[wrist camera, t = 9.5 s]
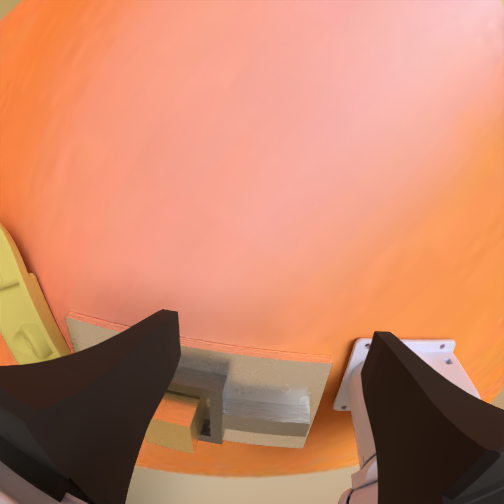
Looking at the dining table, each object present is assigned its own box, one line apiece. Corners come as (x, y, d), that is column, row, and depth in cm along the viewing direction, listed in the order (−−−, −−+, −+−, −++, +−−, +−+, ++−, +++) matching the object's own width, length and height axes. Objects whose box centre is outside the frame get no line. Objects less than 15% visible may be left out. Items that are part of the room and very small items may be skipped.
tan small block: (205, 381, 22) (189, 427, 17) (207, 411, 23) (193, 453, 19) (160, 372, 22) (137, 413, 18) (165, 402, 24) (147, 441, 19)
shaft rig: (330, 355, 21) (335, 381, 18) (302, 440, 25) (302, 463, 22) (70, 311, 23) (52, 327, 20) (97, 398, 27) (85, 415, 24)
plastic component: (78, 385, 23) (11, 395, 21) (85, 344, 30) (25, 357, 27) (-3, 194, 16) (-69, 228, 13) (28, 183, 22) (-35, 211, 20)
